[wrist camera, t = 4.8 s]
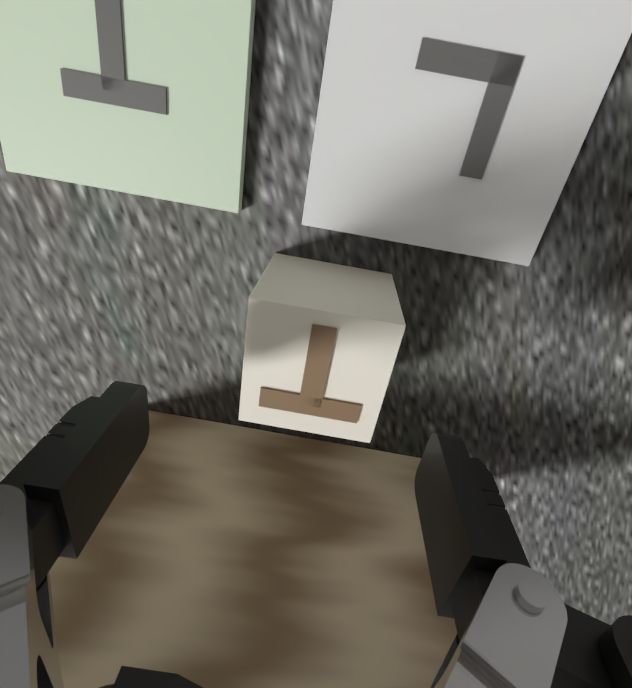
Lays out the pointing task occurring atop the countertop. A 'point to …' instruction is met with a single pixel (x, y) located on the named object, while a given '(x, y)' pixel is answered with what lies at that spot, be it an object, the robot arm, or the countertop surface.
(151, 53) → the board
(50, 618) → the robot arm
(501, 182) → the board
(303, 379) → the cube
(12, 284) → the countertop surface
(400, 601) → the thin wooden plank
